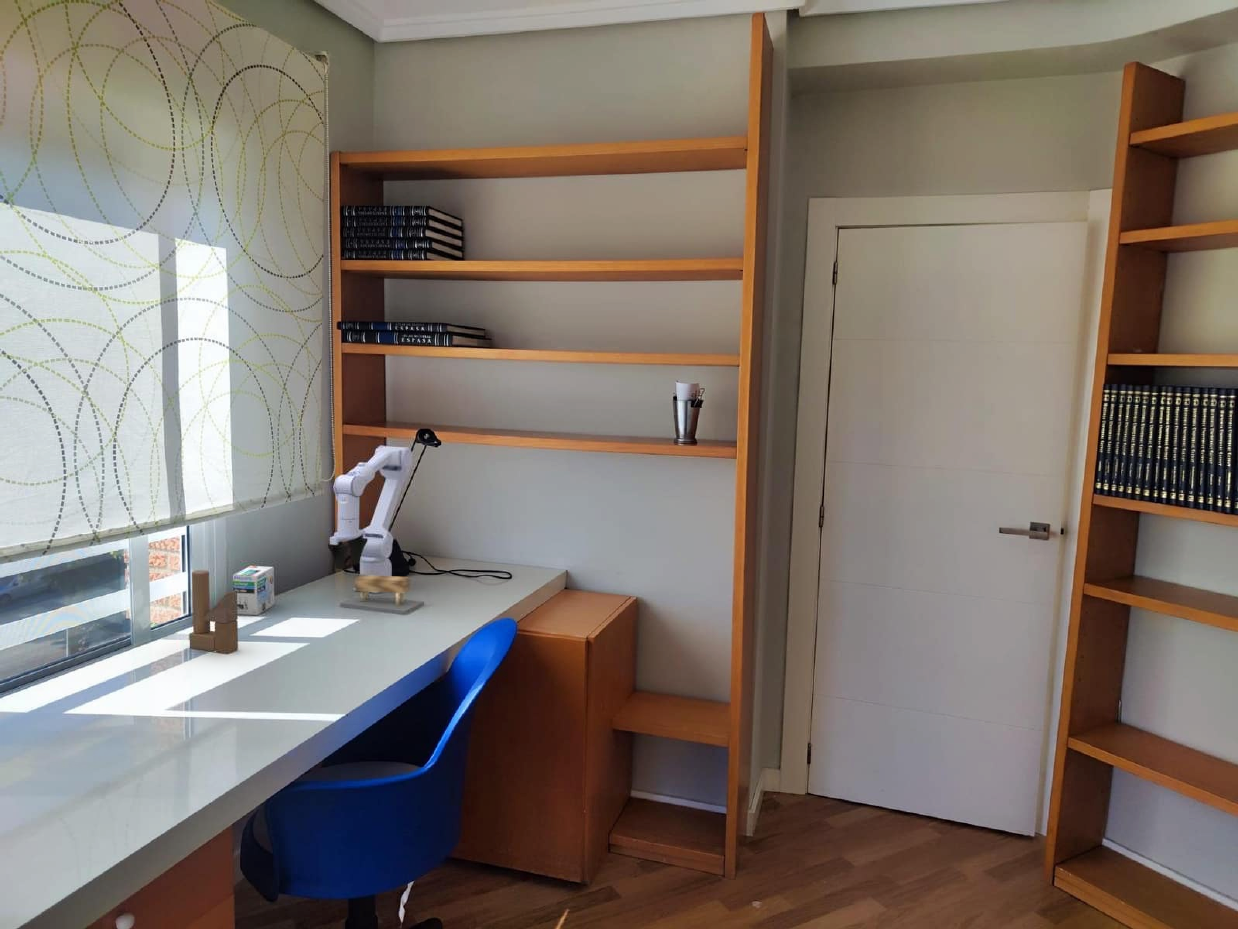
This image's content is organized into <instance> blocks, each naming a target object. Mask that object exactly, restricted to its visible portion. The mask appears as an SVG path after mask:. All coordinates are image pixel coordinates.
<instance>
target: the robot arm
mask: <svg viewBox="0 0 1238 929" xmlns="http://www.w3.org/2000/svg"><path fill="white" fill-rule="evenodd" d="M413 462H414V459H413V452H412V450H411V448H410V447H409V446H403V447H401V446H389V445H388V446H387V445H382V444H381V445H379V446H378V447H376V449H375V451H374V454H373V456H372V457H371V458H370V459H369V460H368V461H367V462H358V463H357V464H356V466H354V468H352V469H351V470H349V472H347V473H346V474H341V475H338V477H336V478H335V480H334V483H333V486H332V487H333V492H334V494H335V500H336V502H337V529H336V530H337V532H334V534H333V535H332V536H330V537H329V542H328V543H327V548H328V550H329V551H330V553H331V555H332V558H333V562H334V565H335V569H336V570H343V569H345V565H346V558H347V557H346V556H347V552H348V549H349V554H350V555H349V556H350V562H351V564H353V565H358V564H359V575H361V574H363V575H380V576H392V574H393V572H392V571H393V570H392V562H391V560H390V559H389V558H390V556H391V554H392V551H393V542H394V537H393V535H392V533H391V532H390V531H389V527H390V524H391V520H392V518H393V514H394V512H395V508H396V506H397V503H398V500H399V497H400V494H401V490H402V488H403V485H404V482H405V479H406V478H407V477H408V476H409V474H410V471H411V467H412V465H413ZM378 471H379V473H380V475H381V476H383V477H384V478H385V481H384V484H383V487H382V489H381V493H380V496H379V499H378V502H377V504H376V506H375V510H374V514H373V516H372V520H371V521H370V525H368V526H367V527H364V528H362V529H360V496H362V495H363V493H364V490H365V488H366V487H367V485H368V484H369V483H370V482H372V480H374V478H375V476H376V472H378ZM344 542H347V543H348V544H345V543H344ZM353 590H354V591H357V592H359V591H358V590H355V587H354V588H353ZM364 593H366V591H364ZM369 593H373V594H378V593H379V592H374V591H369Z"/></svg>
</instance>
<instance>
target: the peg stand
mask: <svg viewBox="0 0 1238 929" xmlns="http://www.w3.org/2000/svg"><path fill="white" fill-rule="evenodd" d="M422 605H423V606H424V605H425V602H424V601H422V600H413V599H412V600H411V599H406V598H405V593H395V597H389V596H380V595H375V594H373V595H372V594H370V592H369V591H366V592H364V591H360V594H358V595H356V596H354V597H351V598H348V599H346V600H343V601H342V602H340V604H339V606H341V608H350V609H355V610H356V609H357V610H363V609H364V610H365V611H371V610H372V611H374V612H380V613H386V614H387V613H390V614H394V613H396V614H395V615H402V614H403V615H404V616H406V615H407V613H408V614H410V613H411V612H413V611H415V610H417V609H419V608H421V607H423V606H422ZM420 606H421V607H420ZM403 615H402V616H403Z"/></svg>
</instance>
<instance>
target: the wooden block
mask: <svg viewBox="0 0 1238 929" xmlns="http://www.w3.org/2000/svg"><path fill="white" fill-rule="evenodd" d="M191 586H192V587H191V588H192V590H191V591H192V592H191V594H192V595H191V597H192V599H191V600H192V623H193V624H192V627H193V631H192V632H190V633H189V648H190V649H195V648H196V650H202V651H207V650H210V651H209V652H213V651H216V653H218V652H220V653H219V654H224V653H225V654H226V655H228V654H230V652H231V653H233V652H235V651H238V650H239V635H238V633H239V632H238V629H239V628H238V627H239V625H238V624H239V623H238V618H239V617H238V615H239V614H237V590H236V591H233V590H232V591H229V592H227V593H224V595H223V596H222V597H221V598H220V599H219V600H218V601H217V603H216V604H214V605H213V607H212V608H211V598H210V597H211V596H210V594H211V593H210V592H211V591H210V572H209V570H206V569H199V570H194V571H192V572H191ZM211 622H212V623H214V630H211ZM234 650H235V651H234ZM225 654H224V655H225Z"/></svg>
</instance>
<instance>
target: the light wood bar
mask: <svg viewBox="0 0 1238 929" xmlns="http://www.w3.org/2000/svg"><path fill="white" fill-rule="evenodd" d="M410 579H411V577H410V576H409V577H407V576H394V575H393V576H380V575H363V574H361V575H360V574H359V575H358V576H356V577H354V588H355V590H354V591H356V590H358V591H357V592H361V591H374V592H378V593H392V594H393V593H394V594H396V593H404V594H406V593H407V592H408V591H410V588H411V584H410V583H411V580H410Z"/></svg>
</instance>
